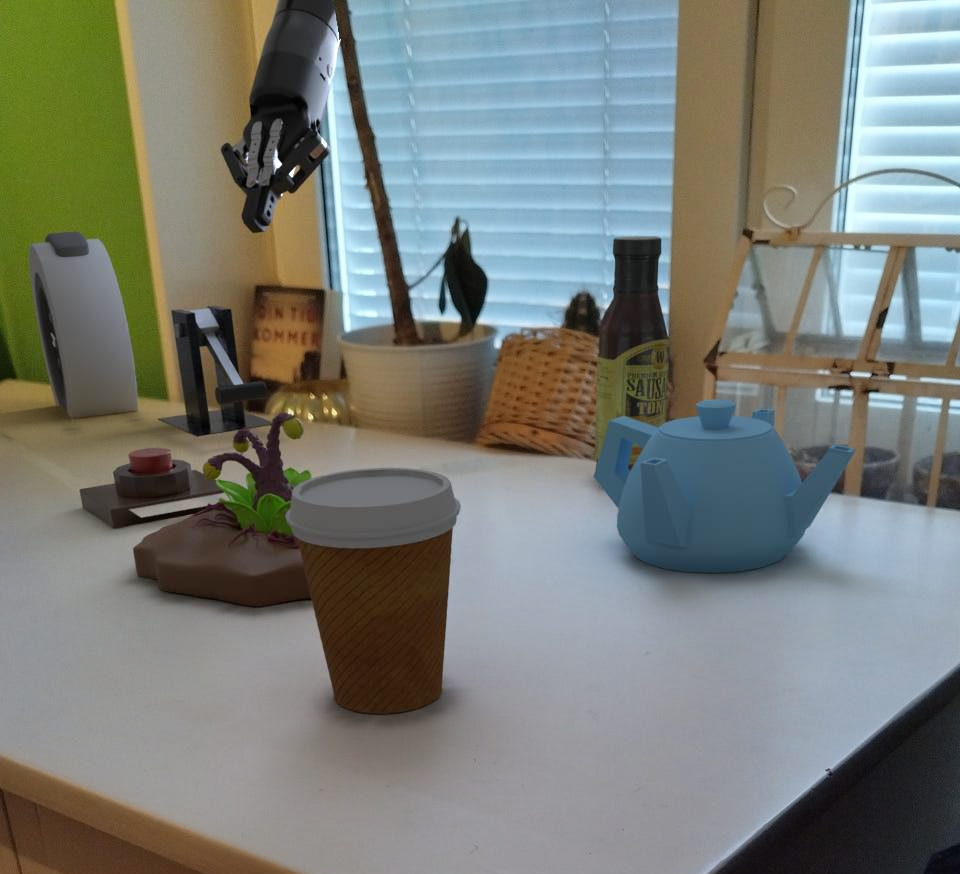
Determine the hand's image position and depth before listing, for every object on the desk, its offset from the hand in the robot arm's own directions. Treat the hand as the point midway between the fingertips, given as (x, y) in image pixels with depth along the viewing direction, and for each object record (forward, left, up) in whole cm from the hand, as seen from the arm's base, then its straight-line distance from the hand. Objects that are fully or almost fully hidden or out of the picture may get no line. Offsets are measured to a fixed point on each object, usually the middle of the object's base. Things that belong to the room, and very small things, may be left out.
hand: (254, 227), depth 133 cm
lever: (-6, 0, -13) cm, 14 cm away
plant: (-20, -46, -20) cm, 54 cm away
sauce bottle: (+16, -42, -20) cm, 49 cm away
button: (-22, -23, -17) cm, 36 cm away
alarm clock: (-13, +24, -20) cm, 34 cm away
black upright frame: (-6, +3, -20) cm, 21 cm away
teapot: (+7, -64, -20) cm, 67 cm away
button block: (-22, -23, -20) cm, 37 cm away
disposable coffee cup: (-26, -74, -20) cm, 80 cm away
